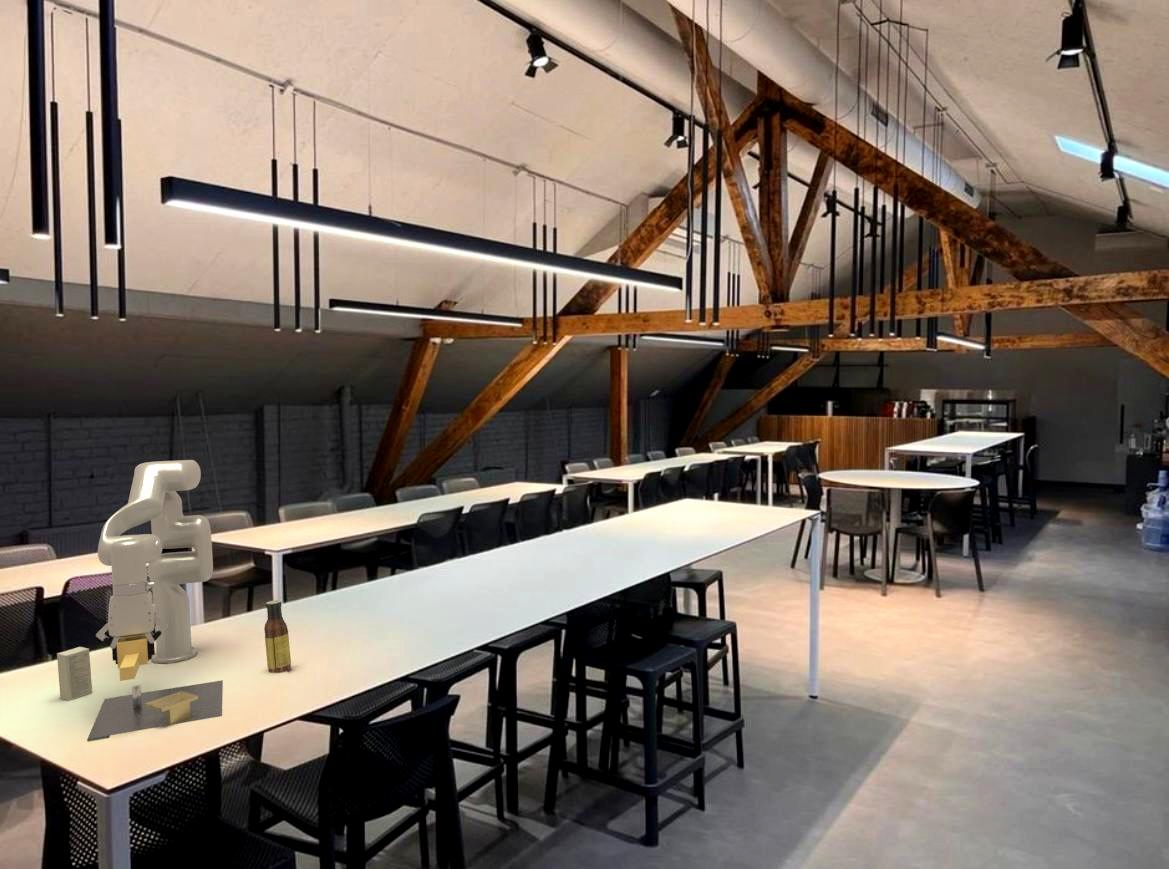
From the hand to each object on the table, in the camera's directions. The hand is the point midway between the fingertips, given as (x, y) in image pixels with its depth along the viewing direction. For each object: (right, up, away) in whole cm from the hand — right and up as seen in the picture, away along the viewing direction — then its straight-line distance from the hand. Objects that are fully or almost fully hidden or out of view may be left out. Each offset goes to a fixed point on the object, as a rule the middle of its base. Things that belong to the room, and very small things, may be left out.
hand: (134, 659), depth 202 cm
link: (+2, -1, -5) cm, 6 cm away
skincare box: (-22, -13, +12) cm, 28 cm away
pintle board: (+7, -12, 0) cm, 14 cm away
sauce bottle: (+26, -11, +27) cm, 39 cm away
